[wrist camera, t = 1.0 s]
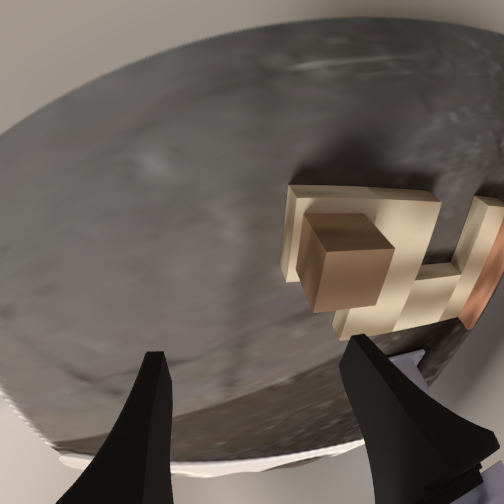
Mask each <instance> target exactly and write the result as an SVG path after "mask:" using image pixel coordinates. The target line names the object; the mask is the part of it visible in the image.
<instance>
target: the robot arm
mask: <svg viewBox="0 0 504 504" xmlns="http://www.w3.org/2000/svg"><path fill="white" fill-rule="evenodd" d="M424 353H425V350H424V349H421V350H417V351H414V352H410V353H406V354H402V355H397V356H393V357H389V358H388V357H387V356H386V355H385V354H384V353H383V352H382V351H381V350H380V349H379V348H378V347H377V346H376V345H375V344H374V343H373V342H372V341H371V340H370V339H369V338H368V337H367V336H366V334H365V333H364V334H358V335H351V337H350V340H349V342H348V345H347V347H346V350H345V352H344V355H343V357H342V360H341V362H340V364H339V368H340V372H341V377H342V381H343V384H344V388H345V390H346V393H347V396H348V398H349V401H350V403H351V406H352V408H353V411H354V413H355V416H356V418H357V421H358V424H359V426H360V429H361V431H362V434H363V437H364V441H365V445H366V449H367V453H368V458H369V463H370V467H371V473H372V479H373V485H374V494H375V504H504V465H503V463H502V461H501V460H500V461H498V462H497V463H495V464H494V465H493V466H491V467H489V468H488V469H487V470H485V471H484V472H482V473H480V472H479V470H480V469H481V468H482V466H481V463H480V462H481V461H483V460H484V459H485V458H487V457H488V456H490V455H491V454H493V453H494V452H495V451H497V450H498V449H499V448H500V445H499V442H498V441H497V438H496V437H495V434H494V432H493V431H490V430H488V429H485V428H483V427H480V426H478V425H476V424H474V423H472V422H469V421H468V420H466V419H464V418H462V417H460V416H458V415H457V414H455V413H453V412H452V411H450V410H449V409H447V408H445V407H444V406H442V405H441V404H440V403H438V402H437V401H435V400H434V398H433V396H432V394H431V392H430V390H429V388H428V387H427V385H426V383H425V381H424V379H423V377H422V375H421V374H420V372H419V370H418V368H417V364H418V363H419V361H420V360H421V358H422V357H423V355H424ZM172 409H173V399H172V380H171V377H170V373H169V369H168V366H167V362H166V358H165V355H164V351H157V352H147V353H145V356H144V359H143V362H142V365H141V368H140V371H139V373H138V376H137V378H136V381H135V383H134V385H133V388H132V390H131V392H130V394H129V397H128V399H127V401H126V403H125V405H124V407H123V409H122V411H121V413H120V415H119V417H118V419H117V421H116V423H115V425H114V427H113V428H112V430H111V432H110V434H109V435H108V437H107V439H106V440H105V442H104V444H103V445H102V447H101V448H100V450H99V451H98V453H97V454H96V456H95V457H94V458H93V460H92V461H91V463H90V464H89V465H88V467H87V468H86V469H85V470H84V472H83V473H82V474H81V476H80V477H79V478H78V479H77V480H76V482H75V483H74V484H73V485H72V486H71V487H70V488H69V489H68V490H67V492H66V493H65V494H64V495H63V496H62V497H61V498H60V499H59V500H58V501H57V502H56V504H174V502H173V493H172V484H171V472H170V442H171V425H172Z"/></svg>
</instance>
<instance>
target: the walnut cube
mask: <svg viewBox="0 0 504 504" xmlns="http://www.w3.org/2000/svg"><path fill="white" fill-rule="evenodd" d="M394 251H395V248H394V246H393V245H392V244H391V243H390V242H389V241H388V240H387V238H386V237H385V236H384V235H383V234H382V233H381V232H380V231H379V229H378V228H377V227H376V226H375V225H374V224H373V223H372V222H371V221H370V220H369V218H368V217H367V216H366V215H365V214H363V213H327V214H303V220H302V228H301V235H300V242H299V249H298V256H297V263H296V272H297V274H298V277H299V279H300V282H301V284H302V287H303V289H304V291H305V294H306V296H307V299H308V301H309V304H310V306H311V309H312V311H313V313H317V312H326V311H335V310H343V309H352V308H360V307H367V306H375V305H376V303H377V300H378V298H379V295H380V292H381V290H382V287H383V284H384V281H385V278H386V275H387V273H388V270H389V267H390V264H391V261H392V258H393V254H394Z"/></svg>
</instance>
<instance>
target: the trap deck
mask: <svg viewBox="0 0 504 504" xmlns="http://www.w3.org/2000/svg"><path fill="white" fill-rule="evenodd" d="M441 204H442V202H441V201H440V200H438V199H437V198H436V197H434V196H433V195H432V194H430V193H429V192H428V191H424V190H411V189H396V188H379V187H358V186H329V185H288V193H287V203H286V213H285V223H284V232H283V242H282V251H281V260H280V266H281V269H282V272H283V274H284V277H285V280H286V282H297V281H300V279H299V277H298V274H297V272H296V263H297V256H298V249H299V242H300V235H301V228H302V220H303V214H327V213H363V214H365V215H366V216H367V217H368V218H369V220H370V221H371V222H372V223H373V224H374V225H375V226H376V227H377V228H378V229H379V231H380V232H381V233H382V234H383V235H384V236H385V237H386V238H387V240H388V241H389V242H390V243H391V244H392V245H393V246H394V248H395V251H394V254H393V258H392V261H391V264H390V267H389V270H388V273H387V275H386V278H385V281H384V284H383V287H382V290H381V292H380V295H379V298H378V300H377V303H376V305H375V306H367V307H360V308H352V309H343V310H336V313H335V316H334V320H333V323H332V326H333V328H334V330H335V333H336V335H337V337H338V340H339V341H342V340H348V339H350V337H351V335H358V334H364V333H365V334H366V336H372V335H378V334H383V333H389V332H393V331H398V330H403V329H408V328H413V327H417V326H422V325H426V324H431V323H435V322H439V321H443V320H447V319H451V318H455V317H458V318H459V319H460V320H461V322H462V323H463V324H464V326H465V327H466V329H467V330H469V329H472V328H473V326H474V325H475V323H476V321H477V320H478V318H479V316H480V315H481V313H482V311H483V309H484V308H485V306H486V304H487V302H488V300H489V299H490V297H491V295H492V293H493V291H494V289H495V287H496V285H497V284H498V282H499V280H500V278H501V276H502V274H503V271H504V202H502V201H501V200H500V199H498V198H492V197H484V196H475V195H474V197H473V201H472V204H471V207H470V210H469V213H468V216H467V219H466V222H465V225H464V228H463V230H462V233H461V236H460V239H459V241H458V244H457V247H456V249H455V252H454V254H453V257H452V259H451V262H449V263H438V264H427V265H421V263H422V261H423V258H424V255H425V253H426V250H427V247H428V244H429V241H430V238H431V235H432V232H433V229H434V226H435V223H436V220H437V217H438V214H439V210H440V207H441Z"/></svg>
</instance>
